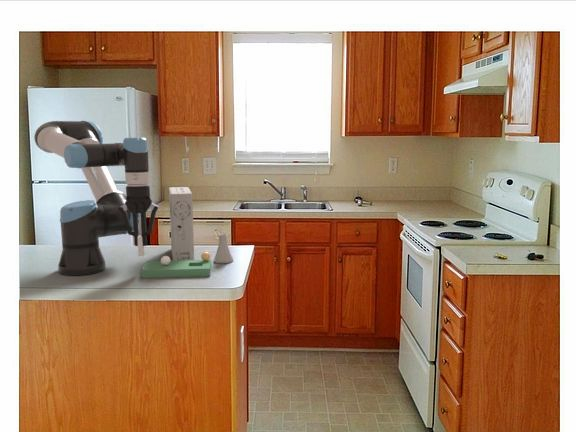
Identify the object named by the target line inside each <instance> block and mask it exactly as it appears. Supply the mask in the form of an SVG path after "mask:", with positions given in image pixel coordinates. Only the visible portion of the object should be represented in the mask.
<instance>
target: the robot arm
mask: <svg viewBox="0 0 576 432" xmlns="http://www.w3.org/2000/svg"><path fill="white" fill-rule="evenodd" d="M102 135H103V134H102V131H101V128H100V127H99V126H98V124H97V123H95V122H93V121H89V120H88V121H87V120H79V121H78V120H77V121H76V120H75V121H74V120H69V121H68V120H52V121H47V122H44V123H43V124H41V125H40V126H39V127H37V129H36V130H35V133H34V136H33V138H34V142H35V145H36V146H37V147H38V149H40V150H41V151H43V152H46V153H47V154H48V153H49V154H55V155H57V156H59V157H61V158H63V159H64V163H65V164H66V166H67V167H68V168H70V169H71V168H72V169H81V171H82V173H83V175H84V177H85V179H86V181H87V184H88V185H89V188H90V190H91V193H92V195H93V196H94V199H95V200H93V199H91V200H90V199H88V200H87V199H86V200H80V201H74V202H70V203H67V204H65V205H63V206H61V208H60V211H59V214H60V215H59V217H60V218H59V222H60V230H61V232H60V233H61V245H62V246H61V247H62V251H61V254H60V258H59V262H58V265H57V266H58V267H57V268H58V269H57V270H58V273H59V274H60V275H64V276H85V275H92V274H97V273H99V272H102V271H104V270H105V269H106V265H107V264H106V260H105V257H104V255H103V253H102V251H101V248H100V241H99V238H104V237H105V238H106V237H112V236H119V235H126V234H128V235H129V236H133V239H134V241H133V242H134V246H135V247H137V254H138V255H137V256H138V257H144V255H145V246H147V245H148V239H147V238H148V236H149V235H151V234H152V233H153V230H154V226H155V225H154V224H155V219H156V214H157V211H158V209H159V208H160V205H158V204H155V203H153V200H152V199H151V190H150V189H151V187H150V185H149V184H150V171H149V170H150V169H149V167H150V166H149V146H148V140H147V138H146V137H124V139H123V140H122V141H123V142H114V143H104V142H103V139H104V138H103V136H102ZM108 167H124V177H125V178H124V179H125V184H126V187H125V193H124V192H122V191H120V190H119V188H118V187H117V185H116V183H115V181H114V178H113V177H112V175H111V173H110V171H109V168H108ZM149 209H150V211H151V212H150V217H149V220H148V221H149V222H148V227H147V216H146V215H147V211H148V210H149ZM139 225H140V226H141V227H140V226H139ZM139 227H140V228H139ZM139 229H141V235H140V232H139Z"/></svg>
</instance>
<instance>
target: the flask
mask: <svg viewBox="0 0 576 432" xmlns="http://www.w3.org/2000/svg"><path fill="white" fill-rule="evenodd" d="M218 238H219V239H218V240H219V241H218V246H217V250H216V253H215V255H214V259H213V263H216V264H229V263H232V262H233V261H234V257H233V255H232V252H231V250H230V247H229V243H228V240H227V238H228V234H227V233H219V234H218Z"/></svg>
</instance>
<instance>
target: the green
mask: <svg viewBox="0 0 576 432" xmlns="http://www.w3.org/2000/svg"><path fill="white" fill-rule="evenodd" d="M212 264H213V263H212V259H209V260H208V261H204V260H202V259H194V260H176V261H173V260H170V263H169V264H168V265H163V264H162V263H161V260H147V261H146V263H145V264H144V265H143V268H142V269H141V278H142V279H147V278H149V279H150V278H151V279H152V278H153V279H155V278H183V277H184V278H185V277H186V278H187V277H189V278H191V277H211V272H212Z"/></svg>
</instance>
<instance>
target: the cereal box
mask: <svg viewBox="0 0 576 432" xmlns="http://www.w3.org/2000/svg"><path fill="white" fill-rule="evenodd" d="M168 193H169V195H168V197H169V219H170V220H169V221H170V223H169V224H170V240H171V241H170V243H171V244H170V245H171V246H170V247H171V249H170V250H171V254H172V261H176V260H195V244H194V242H195V240H194V239H195V238H194V212H193V211H194V209H193V207H194V206H193V192H192V191H191V190H190V187H188V186H180V187H179V186H175V187H173V186H171V187H169V188H168Z"/></svg>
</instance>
